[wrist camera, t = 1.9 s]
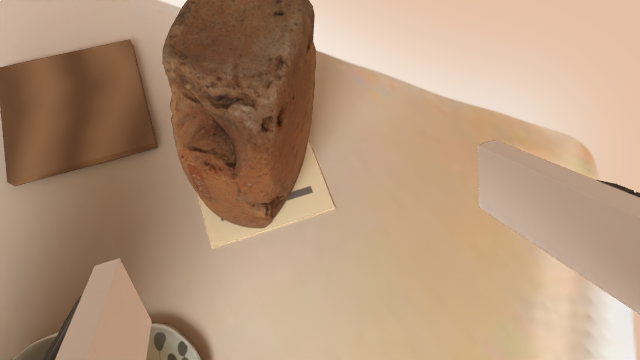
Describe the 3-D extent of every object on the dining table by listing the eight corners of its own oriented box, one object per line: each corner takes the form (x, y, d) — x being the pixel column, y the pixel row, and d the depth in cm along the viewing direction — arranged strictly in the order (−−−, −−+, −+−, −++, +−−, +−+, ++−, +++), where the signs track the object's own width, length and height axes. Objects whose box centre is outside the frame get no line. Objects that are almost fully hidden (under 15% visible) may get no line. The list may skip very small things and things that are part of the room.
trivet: (14, 186, 36) (7, 182, 35) (3, 74, 41) (-4, 68, 40) (157, 147, 39) (154, 142, 38) (133, 45, 43) (129, 39, 42)
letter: (211, 248, 36) (211, 248, 35) (173, 104, 41) (172, 102, 41) (334, 208, 38) (335, 207, 38) (283, 76, 43) (283, 75, 43)
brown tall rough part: (244, 122, 40) (208, -59, 22) (313, 145, 40) (335, -20, 22) (199, 218, 36) (108, 95, 18) (276, 244, 36) (264, 146, 18)
